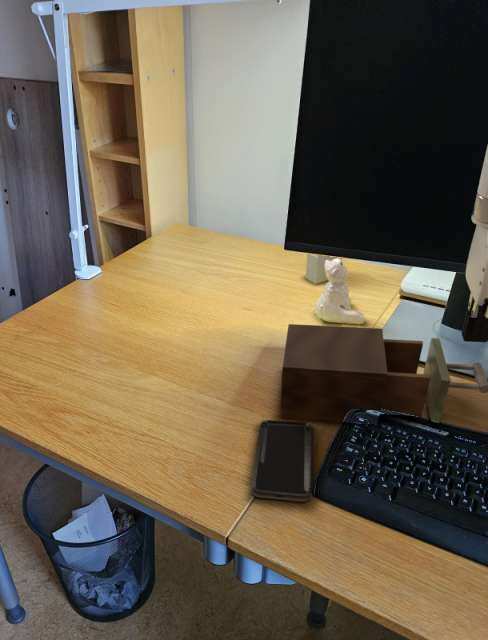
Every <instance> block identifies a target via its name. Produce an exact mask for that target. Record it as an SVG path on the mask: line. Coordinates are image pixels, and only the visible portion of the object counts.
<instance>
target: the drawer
mask: <svg viewBox="0 0 488 640" xmlns="http://www.w3.org/2000/svg"><path fill="white" fill-rule="evenodd" d="M383 339H384V347H385V356H386V365H387V373H388V374H387V380H386V385H385V390H384V396H383V401H382V407H381V408H382V409H386V410H390V411H395V412H400V413H405V414H409V415H414V416H418V417H421V418H422V416H423V411H424V407H425V404H426V406H427V411H428V417H429V420H430V419H431V420H435V421H439V422H441V419H442V415H443V412H444V409H445V403H446V400H447V396H448V392H449V389H461V390H462V389H463V390H464V389H465V390H479V392H480V393H482V394H487V393H488V378H487V376H486V373H485V370H484V367H483V365H482V363H480V362H474V363H473V364H461V363H460V364H459V363H447V361H446V358H445V354H444V350H443V347H442V342H441V339H440V338H438V337H437V338H436V337H431V338H430V342H429V343H430V344H429V347H428V352H427V355H426V360H425V365H424V369H423V373H418V368H419V364H420V360H421V356H422V351H423V347H424V341H423V340H411V339H410V340H409V339H394V338H393V339H391V338H383ZM449 370H461V371H462V370H463V371H472V373H473V376H474V378H475V382H476V383H466V382H452V381H451V377H450V373H449ZM425 402H426V403H425Z"/></svg>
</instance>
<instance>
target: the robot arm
mask: <svg viewBox="0 0 488 640" xmlns="http://www.w3.org/2000/svg"><path fill="white" fill-rule="evenodd" d="M471 221H472V223H473V224H474V225H476V226H475V231H474V232H473V237H472V241H471V244H470V248H469V252H468V256H467V261H466V268H465V279H466V284H467V286H468V288H469V291H470V295H469V300H468V305H467V310H466V313H465V318H464V320H463V321H464V322H463V327H462V330H461V337H462V339H463V340H462V341H463V342H467V343H469V342H470V343H487V342H488V145H487V146H486V150H485V156H484V160H483V164H482V169H481V174H480V177H479V184H478V187H477V192H476V196H475V200H474V205H473V209H472V213H471Z"/></svg>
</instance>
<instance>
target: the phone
mask: <svg viewBox="0 0 488 640" xmlns="http://www.w3.org/2000/svg"><path fill="white" fill-rule="evenodd" d="M256 445H257V447H256V454H255V461H254V467H253V474H252V481H251V493H252V495H253V496H254V497H255V498H258V499H265V500H275V501H286V502H294V503H295V502H297V503H306V502H309V501H310V500H311V499H312V490H313V455H314V454H313V453H314V452H313V450H314V449H313V448H314V426H313V425H312V424H311V423H309V422H304V421H303V422H301V421H286V420H276V419H275V420H273V419H266V420H262V421H261V422H260V424H259V431H258V437H257V442H256Z"/></svg>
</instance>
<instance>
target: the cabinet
mask: <svg viewBox="0 0 488 640" xmlns="http://www.w3.org/2000/svg"><path fill="white" fill-rule="evenodd" d="M383 330H384V329H383V328H376V327H357V326H337V325H319V324H317V325H316V324H315V325H314V324H298V323H297V324H296V323H288V325H287V331H286V332H287V333H286V340H285V346H284V351H283V359H282V367H281V386H280V408H279V419H287V420H298V421H299V420H300V421H313V422H324V423H325V422H326V423H336V424H343V423H342V422H343V420H344V417H345V416H346V414H347V413H348V412H349V411H350V410H352V409H362V410H381V407H382V401H383V396H384V390H385V385H386V380H387V374H388V373H387V365H386V356H385V347H384V339H385V338H384V331H383Z"/></svg>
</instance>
